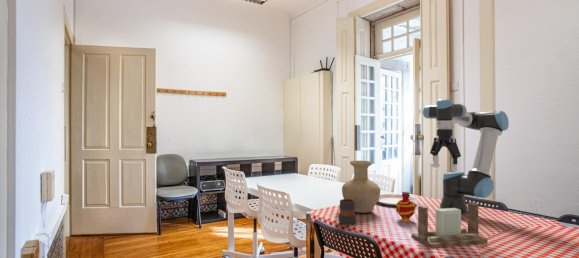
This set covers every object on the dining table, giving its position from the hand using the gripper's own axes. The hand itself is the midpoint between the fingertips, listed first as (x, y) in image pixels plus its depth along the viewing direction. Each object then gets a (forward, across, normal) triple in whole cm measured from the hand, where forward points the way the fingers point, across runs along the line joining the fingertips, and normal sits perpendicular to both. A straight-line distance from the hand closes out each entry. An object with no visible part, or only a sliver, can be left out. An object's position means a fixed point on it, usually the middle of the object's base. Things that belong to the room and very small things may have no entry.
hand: (444, 169), depth 171 cm
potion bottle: (+28, -9, -17) cm, 35 cm away
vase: (+28, -32, -33) cm, 54 cm away
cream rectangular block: (+27, +22, -16) cm, 39 cm away
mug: (+28, -14, -49) cm, 58 cm away
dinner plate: (+29, -47, -1) cm, 55 cm away
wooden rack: (+28, +23, -16) cm, 40 cm away
